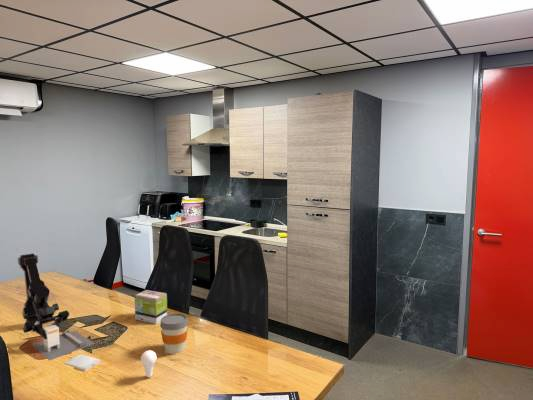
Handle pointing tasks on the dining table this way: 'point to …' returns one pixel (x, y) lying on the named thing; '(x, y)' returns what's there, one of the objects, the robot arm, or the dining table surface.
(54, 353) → the mounting plate
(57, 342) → the block
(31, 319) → the robot arm
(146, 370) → the lightbulb
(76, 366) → the hard drive
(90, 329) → the dining table surface
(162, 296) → the tea box
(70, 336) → the rail
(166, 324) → the reusable coffee cup
